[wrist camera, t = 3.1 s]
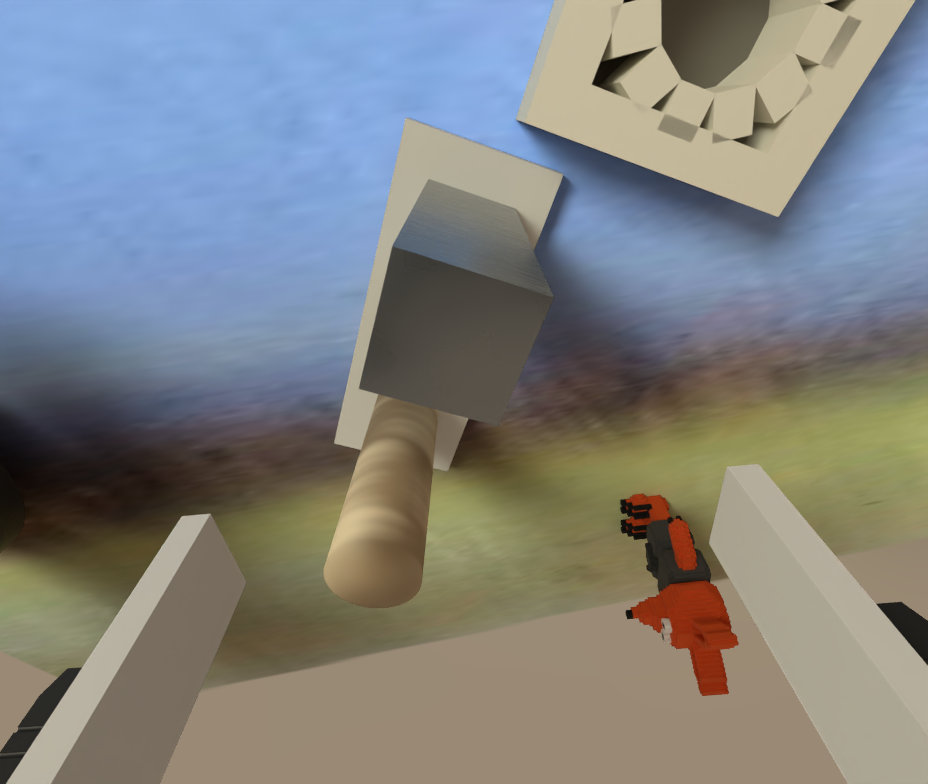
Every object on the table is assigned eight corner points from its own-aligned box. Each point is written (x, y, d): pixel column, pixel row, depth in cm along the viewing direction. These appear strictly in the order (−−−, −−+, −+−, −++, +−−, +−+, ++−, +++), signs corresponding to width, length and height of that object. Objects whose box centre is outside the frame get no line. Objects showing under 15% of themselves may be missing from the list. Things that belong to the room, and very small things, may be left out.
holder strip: (337, 434, 33) (334, 443, 32) (408, 117, 23) (405, 117, 22) (448, 462, 34) (447, 471, 33) (560, 172, 24) (563, 174, 24)
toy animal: (595, 479, 35) (647, 635, 25) (671, 469, 34) (756, 625, 24) (598, 552, 39) (644, 712, 29) (667, 545, 39) (738, 705, 28)
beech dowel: (371, 421, 31) (316, 597, 20) (384, 370, 29) (332, 534, 18) (429, 437, 32) (408, 615, 21) (446, 388, 30) (433, 556, 19)
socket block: (515, 119, 23) (524, 123, 19) (634, -246, 17) (681, -346, 13) (730, 199, 25) (778, 217, 21) (905, -107, 19) (1016, -160, 15)
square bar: (405, 266, 26) (358, 388, 15) (428, 178, 24) (392, 245, 13) (486, 291, 27) (498, 426, 16) (515, 208, 24) (554, 297, 13)
